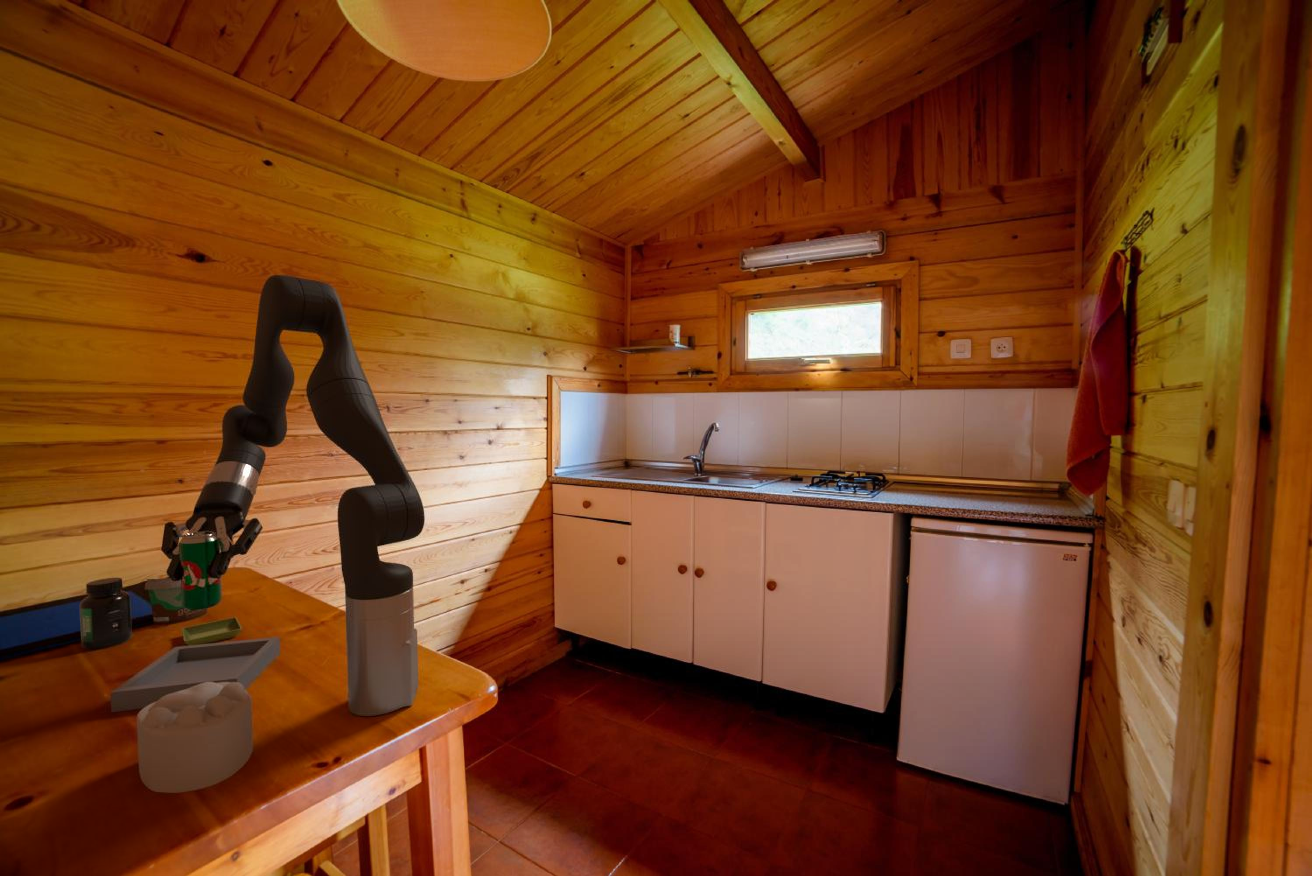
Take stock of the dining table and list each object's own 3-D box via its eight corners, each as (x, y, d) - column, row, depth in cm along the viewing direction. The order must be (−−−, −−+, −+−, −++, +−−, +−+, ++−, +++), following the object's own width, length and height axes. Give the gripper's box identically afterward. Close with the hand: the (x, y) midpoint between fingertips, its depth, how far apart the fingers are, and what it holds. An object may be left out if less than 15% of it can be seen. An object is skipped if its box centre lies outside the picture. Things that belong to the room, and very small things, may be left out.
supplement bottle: (84, 653, 99) (81, 589, 99) (79, 644, 103) (75, 582, 103) (135, 641, 105) (132, 580, 104) (128, 632, 109) (125, 573, 108)
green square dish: (236, 626, 113) (236, 616, 113) (242, 638, 107) (242, 628, 106) (181, 638, 107) (181, 628, 107) (184, 652, 101) (183, 641, 100)
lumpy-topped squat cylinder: (231, 726, 76) (228, 666, 76) (269, 760, 69) (267, 693, 68) (130, 766, 68) (127, 698, 67) (162, 809, 60) (158, 733, 60)
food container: (170, 629, 110) (167, 581, 109) (146, 627, 111) (143, 579, 111) (229, 608, 122) (227, 564, 122) (206, 606, 123) (205, 563, 123)
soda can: (217, 598, 93) (214, 529, 92) (225, 605, 89) (222, 533, 89) (179, 606, 89) (175, 534, 88) (185, 614, 86) (182, 539, 85)
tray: (280, 652, 99) (279, 636, 99) (237, 697, 84) (237, 678, 84) (176, 663, 95) (175, 646, 95) (111, 712, 80) (110, 692, 80)
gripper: (171, 481, 93) (128, 569, 82) (267, 478, 97) (237, 562, 86) (190, 506, 99) (152, 592, 88) (280, 502, 102) (254, 584, 92)
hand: (194, 577), depth 87 cm, fingers closed on soda can, 5 cm apart
